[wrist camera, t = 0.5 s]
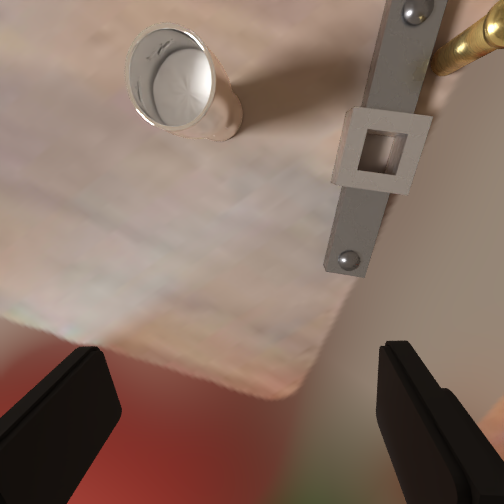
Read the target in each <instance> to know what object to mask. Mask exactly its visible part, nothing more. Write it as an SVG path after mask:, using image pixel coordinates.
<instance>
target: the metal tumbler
mask: <svg viewBox="0 0 504 504" xmlns="http://www.w3.org/2000/svg"><path fill="white" fill-rule="evenodd" d="M125 83H126V88H127V92H128V95H129V97H130V100H131V102H132V104H133V106H134V107H135V109H136V110H137V112H138V113H139V114H140V115H141V116H142V117H143V118H144V119H145V120H146V121H147V122H148V123H150V124H151V125H153V126H155V127H157V128H159V129H162V130H164V131H167V132H169V133H171V134H173V135H176V136H179V137H182V138H188V139H204V138H207V139H209V140H212V141H225V140H227V139H229V138H231V137H232V136H234V135H235V134H236V132H237V131H238V129H239V128H240V125H241V122H242V117H243V111H242V106H241V103H240V100H239V99H238V97H237V96H236V94H235V93H234V92H233V91H232V88H231V84H230V80H229V78H228V75H227V73H226V71H225V69H224V68H223V66H222V64H221V63H220V61H219V60H218V59H217V57H216V56H215V55H214V53H213V52H212V51H211V50H210V49H209V48H208V47H207V46H206V45H205V44H204V42H203V41H202V40H201V39H200V37H199V36H198V35H197V34H195V33H194V32H193V31H192V30H190V29H189V28H187V27H185V26H183V25H180V24H177V23H171V22H162V23H157V24H154V25H152V26H149V27H148V28H146V29H145V30H143V31H142V32H141V33H140V34H139V35H138V36H137V37H136V38H135V40H134V41H133V43H132V45H131V46H130V49H129V51H128V54H127V57H126V62H125Z"/></svg>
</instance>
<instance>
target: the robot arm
mask: <svg viewBox="0 0 504 504" xmlns="http://www.w3.org/2000/svg"><path fill="white" fill-rule="evenodd" d="M121 412H122V408H121V405H120V402H119V400H118V396H117V393H116V390H115V387H114V384H113V381H112V378H111V375H110V372H109V369H108V366H107V363H106V360H105V357H104V354H103V352H102V351H100V349H99V348H98V347H95V346H90V347H79V348H77V349H75V350H74V351H73V352H72V353H71V354H70V355H69V356H68V357H66V358H65V359H64V360H63V361H62V362H61V363H60V364H59V365H58V366H57V367H56V368H55V369H54V370H52V371H51V372H50V373H49V374H48V375H47V376H46V377H45V378H44V379H43V380H41V381H40V382H39V383H38V384H37V385H36V386H35V387H34V388H33V389H32V390H30V391H29V392H28V393H27V394H26V395H25V396H24V397H23V398H22V399H21V400H20V401H18V402H17V403H16V404H15V405H14V406H13V407H12V408H11V409H10V410H9V411H8V412H6V413H5V414H4V415H3V416H2V417H1V418H0V504H67V502H68V501H69V499H70V497H71V496H72V494H73V493H74V491H75V490H76V488H77V486H78V485H79V483H80V481H81V480H82V478H83V477H84V475H85V474H86V472H87V470H88V469H89V467H90V466H91V464H92V462H93V461H94V459H95V458H96V456H97V454H98V453H99V451H100V450H101V448H102V446H103V445H104V443H105V442H106V440H107V439H108V437H109V435H110V434H111V432H112V430H113V429H114V427H115V426H116V424H117V423H118V421H119V419H120V417H121ZM376 417H377V422H378V425H379V428H380V431H381V434H382V436H383V439H384V442H385V444H386V447H387V450H388V453H389V455H390V458H391V461H392V464H393V467H394V469H395V472H396V475H397V477H398V480H399V483H400V486H401V489H402V491H403V494H404V497H405V500H406V502H407V504H504V461H503V460H502V459H501V457H500V456H499V454H498V453H497V452H496V450H495V449H494V448H493V446H492V445H491V444H490V442H489V441H488V440H487V438H486V437H485V435H484V434H483V433H482V431H481V430H480V429H479V427H478V426H477V425H476V423H475V422H474V421H473V419H472V418H471V416H470V415H469V414H468V412H467V411H466V410H465V408H464V407H463V406H462V404H461V403H460V402H459V400H458V399H457V397H456V396H455V395H454V394H453V393H452V392H451V391H450V390H449V389H447V388H441V387H440V386H439V385H438V383H437V382H436V380H435V379H434V377H433V376H432V375H431V373H430V372H429V370H428V369H427V367H426V366H425V364H424V363H423V362H422V360H421V359H420V357H419V356H418V354H417V353H416V352H415V350H414V349H413V347H412V346H411V344H410V343H409V342H408V341H387V342H386V343H385V346H381V347H380V349H379V365H378V384H377V403H376Z"/></svg>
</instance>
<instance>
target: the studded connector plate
mask: <svg viewBox="0 0 504 504" xmlns="http://www.w3.org/2000/svg"><path fill="white" fill-rule="evenodd" d="M447 1H448V0H386V4H385V8H384V12H383V17H382V21H381V25H380V29H379V33H378V38H377V42H376V46H375V50H374V54H373V59H372V63H371V67H370V71H369V75H368V79H367V84H366V88H365V92H364V96H363V100H362V105H361V107H355V106H354V107H353V108H351V109H350V110H349V111H347V112H346V116H345V120H344V124H343V129H342V133H341V138H340V142H339V147H338V151H337V156H336V160H335V165H334V169H333V174H332V178H331V183H332V184H335V185H339V186H342V188H341V193H340V197H339V201H338V205H337V209H336V214H335V218H334V222H333V226H332V230H331V235H330V239H329V243H328V247H327V251H326V255H325V260H324V264H323V265H324V268H325V271H326V272H332V273H338V274H344V275H350V276H356V277H363V278H364V277H365V275H366V271H367V268H368V265H369V261H370V258H371V255H372V251H373V248H374V245H375V241H376V238H377V235H378V231H379V228H380V224H381V221H382V218H383V214H384V211H385V208H386V204H387V201H388V198H389V194H390V193H394V194H401V195H408V193H409V190H410V187H411V184H412V181H413V178H414V175H415V172H416V169H417V166H418V162H419V159H420V156H421V153H422V150H423V147H424V144H425V141H426V138H427V135H428V131H429V128H430V125H431V122H432V119H433V116H426V115H418V114H414V111H415V108H416V104H417V101H418V98H419V94H420V91H421V88H422V84H423V81H424V78H425V74H426V71H427V68H428V64H429V61H430V58H431V54H432V51H433V48H434V44H435V41H436V37H437V34H438V31H439V27H440V24H441V21H442V17H443V14H444V11H445V7H446V4H447ZM366 133H368V134H376V135H383V136H391V137H394V141H393V144H392V148H391V151H390V155H389V158H388V162H387V165H386V169H385V172H384V174H381V173H374V172H367V171H360V170H357V169H358V165H359V161H360V157H361V153H362V149H363V145H364V141H365V137H366Z"/></svg>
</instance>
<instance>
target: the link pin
mask: <svg viewBox="0 0 504 504" xmlns="http://www.w3.org/2000/svg"><path fill="white" fill-rule="evenodd" d="M496 49H504V0H500V1H498V2H497V3H496V4H495V5H494V6H493V7H492V8H491V9H490V10H489V12H488V13H487V15H486V16H484V17H483V18H481V19H480V20H479V21H477V22H476V23H474V24H473V25H472V26H470V27H469V28H467V29H466V30H465V31H463V32H462V33H460V34H459V35H458V36H456V37H455V38H453V39H452V40H451V41H449V42H448V43H446V44H445V45H444V46H442V47H441V48H439V49H438V50H437V51H436V52H435V53H434V55H433V57H432V59H431V69H432V71H433V73H434V74H436V75H438V76H446V75H448V74H450V73H452V72H454V71H456V70H458V69H460V68H462V67H464V66H465V65H467V64H469V63H471V62H473V61H475V60H477V59H479V58H481V57H483V56H485V55H487V54H488V53H491V52H492V51H494V50H496Z"/></svg>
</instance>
